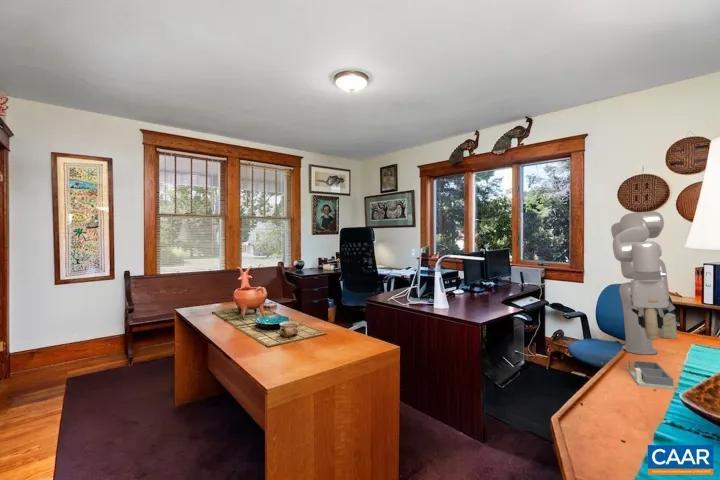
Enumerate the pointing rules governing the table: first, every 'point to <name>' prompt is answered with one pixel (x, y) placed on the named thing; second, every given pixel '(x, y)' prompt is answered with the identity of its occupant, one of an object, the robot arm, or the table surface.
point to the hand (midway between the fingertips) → (651, 326)
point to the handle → (651, 321)
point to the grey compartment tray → (650, 375)
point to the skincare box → (668, 327)
